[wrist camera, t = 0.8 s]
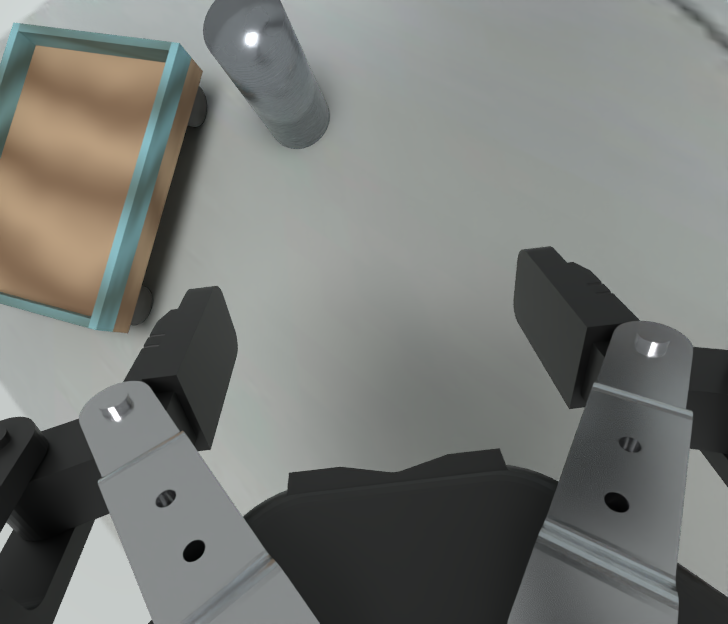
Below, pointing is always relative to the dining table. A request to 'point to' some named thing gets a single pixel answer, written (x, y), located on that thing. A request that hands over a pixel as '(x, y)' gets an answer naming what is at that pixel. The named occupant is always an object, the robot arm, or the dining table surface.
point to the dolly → (88, 168)
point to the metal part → (268, 68)
